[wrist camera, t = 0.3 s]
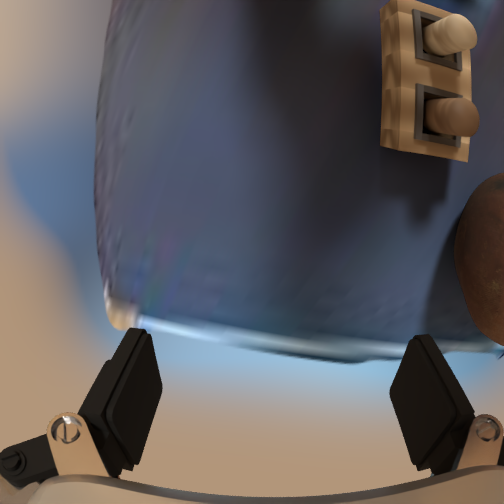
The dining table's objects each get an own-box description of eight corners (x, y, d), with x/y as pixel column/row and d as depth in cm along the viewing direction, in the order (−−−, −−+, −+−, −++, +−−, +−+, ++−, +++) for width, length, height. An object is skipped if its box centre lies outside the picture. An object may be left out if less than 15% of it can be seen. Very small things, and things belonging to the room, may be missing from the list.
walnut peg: (420, 96, 28) (450, 93, 22) (448, 103, 28) (479, 103, 22) (419, 129, 30) (448, 133, 24) (446, 135, 30) (478, 140, 24)
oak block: (379, 9, 28) (398, -7, 22) (443, 28, 28) (468, 18, 22) (379, 145, 36) (400, 150, 29) (443, 155, 35) (470, 163, 29)
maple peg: (417, 23, 24) (444, 8, 18) (445, 32, 24) (475, 21, 18) (419, 52, 26) (448, 42, 20) (447, 60, 26) (478, 53, 20)
